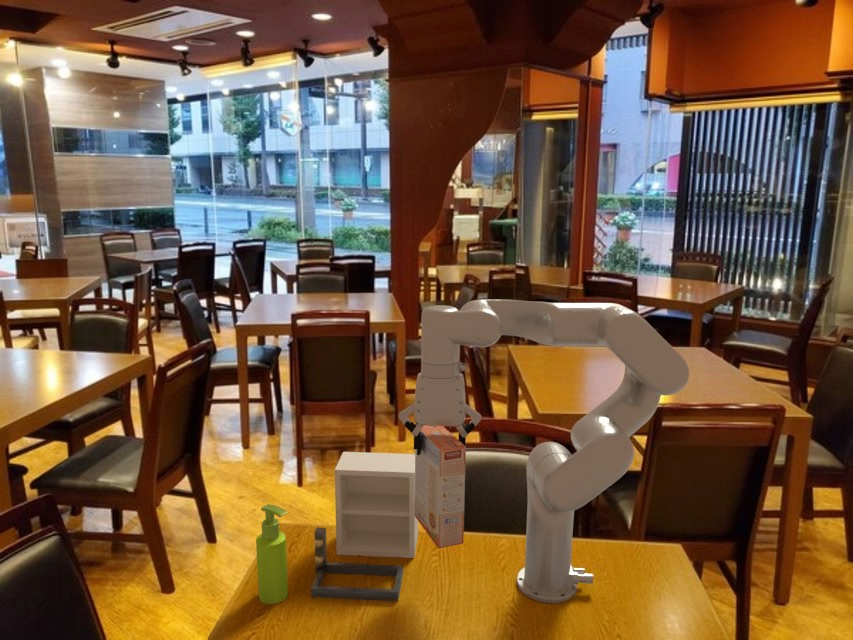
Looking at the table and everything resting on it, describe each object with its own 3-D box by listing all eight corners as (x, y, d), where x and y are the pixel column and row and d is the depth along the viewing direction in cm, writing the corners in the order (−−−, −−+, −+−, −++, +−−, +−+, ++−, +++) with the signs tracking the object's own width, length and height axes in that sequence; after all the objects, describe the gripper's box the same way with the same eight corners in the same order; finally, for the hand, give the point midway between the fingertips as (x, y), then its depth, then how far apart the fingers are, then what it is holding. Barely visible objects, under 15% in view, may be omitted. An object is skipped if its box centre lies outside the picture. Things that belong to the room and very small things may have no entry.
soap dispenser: (278, 609, 128) (274, 518, 124) (252, 598, 131) (248, 509, 127) (297, 593, 133) (294, 505, 129) (272, 583, 136) (268, 497, 132)
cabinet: (417, 534, 156) (418, 454, 152) (414, 558, 146) (414, 472, 142) (345, 531, 157) (343, 451, 153) (336, 554, 147) (334, 469, 143)
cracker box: (465, 544, 127) (467, 445, 122) (437, 550, 125) (438, 449, 120) (439, 511, 140) (440, 420, 135) (413, 516, 138) (413, 424, 133)
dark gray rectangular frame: (403, 572, 141) (403, 531, 139) (398, 601, 131) (398, 557, 129) (318, 568, 142) (316, 527, 140) (306, 596, 132) (305, 553, 130)
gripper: (484, 364, 128) (482, 446, 132) (397, 362, 129) (398, 444, 133) (485, 375, 121) (483, 462, 125) (394, 373, 122) (394, 459, 125)
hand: (439, 452), depth 129 cm, fingers closed on cracker box, 7 cm apart
